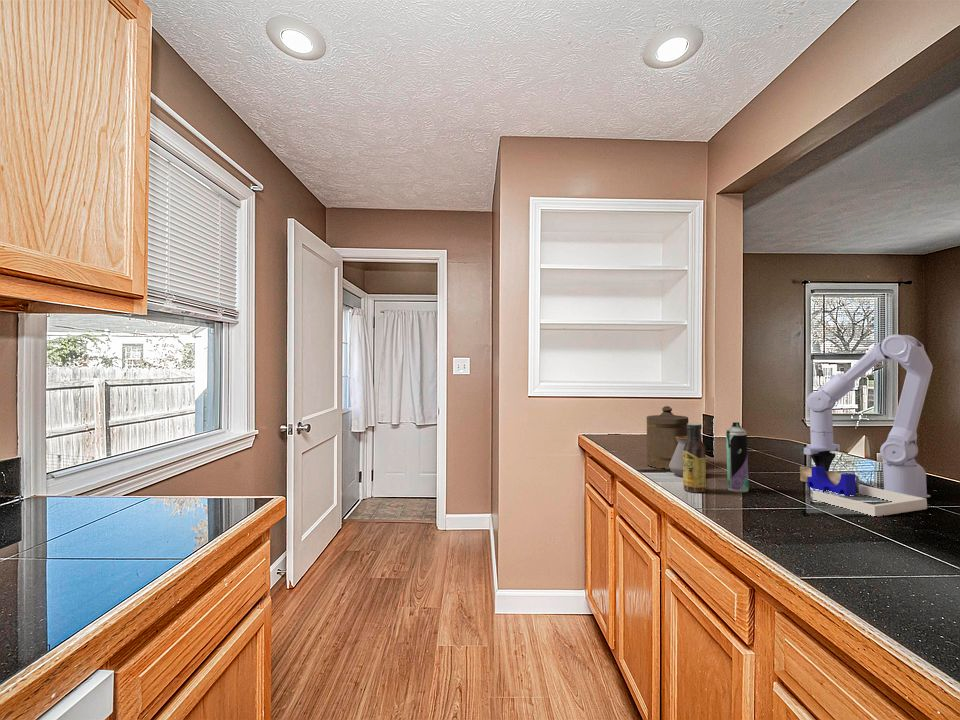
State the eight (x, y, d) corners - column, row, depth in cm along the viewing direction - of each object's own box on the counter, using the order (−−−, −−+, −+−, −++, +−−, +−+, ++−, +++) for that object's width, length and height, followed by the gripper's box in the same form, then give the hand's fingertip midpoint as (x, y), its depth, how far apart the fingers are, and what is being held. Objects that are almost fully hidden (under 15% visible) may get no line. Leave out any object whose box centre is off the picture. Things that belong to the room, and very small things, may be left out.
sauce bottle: (679, 488, 152) (677, 422, 153) (699, 487, 153) (697, 422, 153) (690, 494, 146) (688, 425, 146) (711, 493, 146) (708, 424, 147)
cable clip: (807, 487, 151) (806, 466, 151) (820, 486, 152) (820, 466, 152) (841, 497, 139) (840, 475, 139) (855, 496, 140) (855, 474, 140)
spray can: (740, 493, 145) (738, 423, 146) (723, 489, 150) (721, 422, 151) (752, 490, 148) (750, 422, 148) (735, 486, 153) (733, 420, 153)
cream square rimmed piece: (856, 492, 143) (855, 475, 143) (927, 508, 126) (926, 489, 126) (807, 499, 137) (807, 481, 138) (875, 516, 121) (874, 496, 121)
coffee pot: (666, 471, 177) (665, 428, 178) (701, 471, 175) (700, 428, 175) (677, 485, 156) (675, 437, 157) (717, 486, 154) (715, 437, 154)
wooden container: (690, 463, 191) (688, 405, 191) (689, 471, 177) (687, 408, 177) (649, 461, 197) (647, 404, 197) (645, 468, 183) (643, 407, 183)
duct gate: (855, 492, 143) (854, 476, 143) (853, 492, 143) (852, 476, 143) (802, 480, 158) (802, 466, 158) (800, 480, 158) (800, 466, 158)
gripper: (822, 428, 160) (824, 471, 160) (793, 432, 154) (794, 476, 154) (846, 430, 153) (848, 475, 153) (816, 434, 147) (818, 481, 147)
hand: (822, 476), depth 153 cm, fingers closed
